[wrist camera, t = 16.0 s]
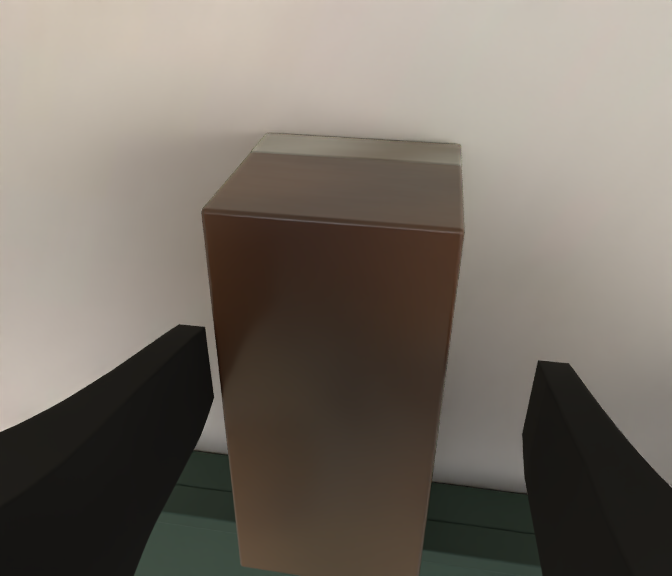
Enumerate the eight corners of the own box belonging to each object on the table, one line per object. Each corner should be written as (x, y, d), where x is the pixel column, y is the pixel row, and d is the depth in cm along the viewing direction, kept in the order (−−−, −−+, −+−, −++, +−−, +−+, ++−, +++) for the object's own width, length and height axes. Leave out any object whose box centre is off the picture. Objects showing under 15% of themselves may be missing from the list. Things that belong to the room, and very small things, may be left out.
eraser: (461, 144, 15) (465, 230, 11) (423, 458, 21) (416, 595, 17) (265, 132, 16) (199, 209, 12) (280, 440, 22) (239, 567, 17)
